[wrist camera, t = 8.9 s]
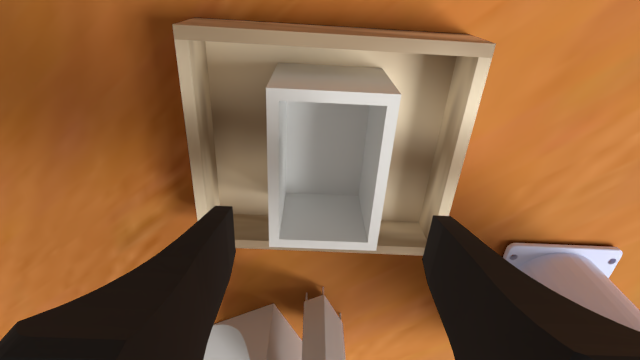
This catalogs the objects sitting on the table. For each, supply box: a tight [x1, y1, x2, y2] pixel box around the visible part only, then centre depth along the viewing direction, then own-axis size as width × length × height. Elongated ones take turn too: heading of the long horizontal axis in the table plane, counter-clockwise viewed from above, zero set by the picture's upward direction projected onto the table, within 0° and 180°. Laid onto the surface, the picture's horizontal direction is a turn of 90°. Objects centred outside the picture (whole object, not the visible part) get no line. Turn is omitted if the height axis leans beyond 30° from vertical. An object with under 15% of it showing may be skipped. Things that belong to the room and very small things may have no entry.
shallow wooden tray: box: [172, 18, 496, 256], centre depth 20 cm, size 12×14×3 cm
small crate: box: [266, 63, 401, 251], centre depth 19 cm, size 8×5×5 cm
